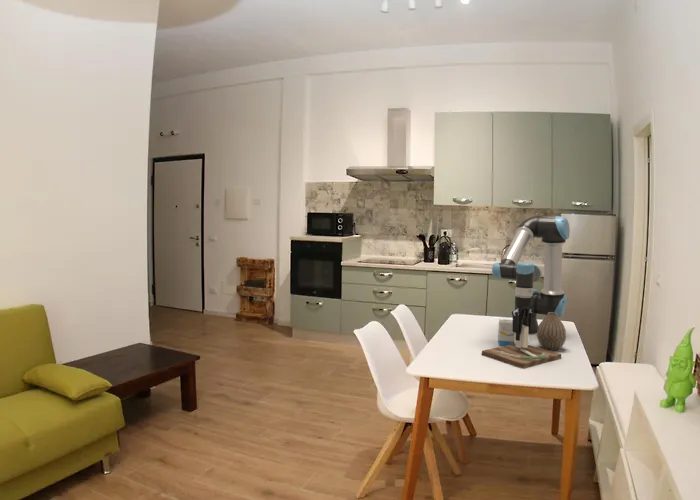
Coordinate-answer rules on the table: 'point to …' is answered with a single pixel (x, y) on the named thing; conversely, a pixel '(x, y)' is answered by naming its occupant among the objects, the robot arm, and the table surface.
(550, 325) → the vase
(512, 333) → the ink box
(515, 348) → the board
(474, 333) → the table surface
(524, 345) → the cream dial pointer
